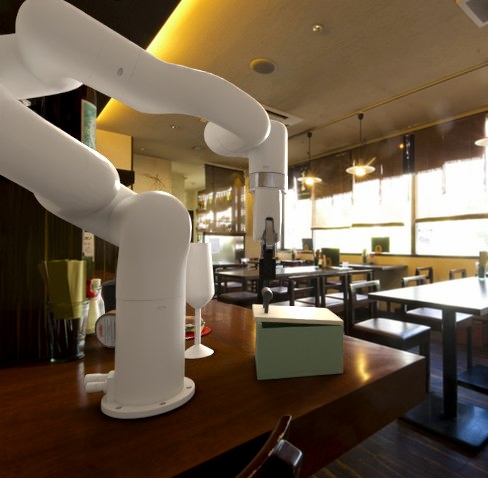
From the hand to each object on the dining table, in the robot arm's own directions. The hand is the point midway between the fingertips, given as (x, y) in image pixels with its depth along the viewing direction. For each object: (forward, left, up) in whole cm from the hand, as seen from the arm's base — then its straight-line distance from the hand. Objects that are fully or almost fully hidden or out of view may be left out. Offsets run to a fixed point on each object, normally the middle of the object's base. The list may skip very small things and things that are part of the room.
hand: (267, 279), depth 64 cm
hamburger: (-20, +29, -17) cm, 39 cm away
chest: (+6, 0, -17) cm, 18 cm away
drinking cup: (-36, +30, -17) cm, 50 cm away
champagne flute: (-14, +11, -17) cm, 25 cm away
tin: (-30, +18, -17) cm, 39 cm away
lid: (+5, 0, -7) cm, 9 cm away
